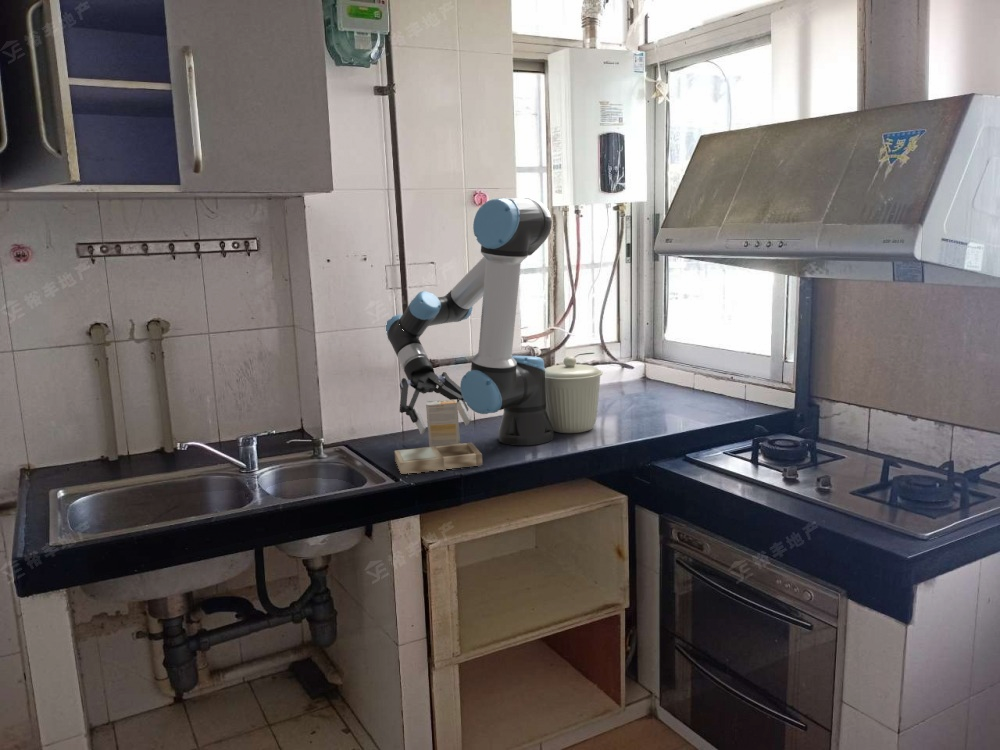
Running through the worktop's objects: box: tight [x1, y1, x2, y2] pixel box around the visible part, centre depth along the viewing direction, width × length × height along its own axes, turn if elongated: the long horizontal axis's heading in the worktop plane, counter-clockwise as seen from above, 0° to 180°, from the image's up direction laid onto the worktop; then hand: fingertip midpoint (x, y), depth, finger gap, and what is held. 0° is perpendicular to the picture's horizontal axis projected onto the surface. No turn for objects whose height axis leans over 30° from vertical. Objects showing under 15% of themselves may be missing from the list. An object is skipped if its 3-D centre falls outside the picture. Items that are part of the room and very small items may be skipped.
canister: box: [545, 355, 603, 434], centre depth 226 cm, size 18×18×21 cm
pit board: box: [394, 442, 483, 475], centre depth 198 cm, size 20×12×3 cm, turn 104°
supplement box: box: [425, 399, 461, 447], centre depth 211 cm, size 8×5×13 cm, turn 92°
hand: (446, 426), depth 209 cm, fingers open, 13 cm apart
